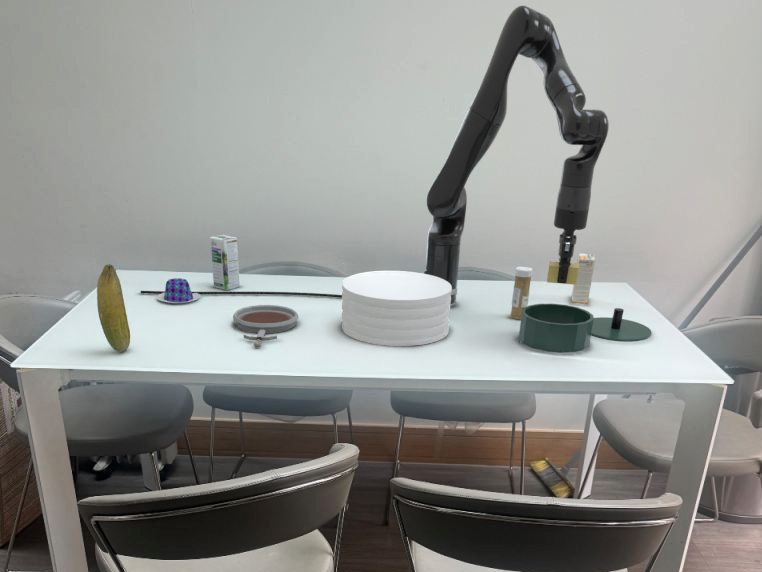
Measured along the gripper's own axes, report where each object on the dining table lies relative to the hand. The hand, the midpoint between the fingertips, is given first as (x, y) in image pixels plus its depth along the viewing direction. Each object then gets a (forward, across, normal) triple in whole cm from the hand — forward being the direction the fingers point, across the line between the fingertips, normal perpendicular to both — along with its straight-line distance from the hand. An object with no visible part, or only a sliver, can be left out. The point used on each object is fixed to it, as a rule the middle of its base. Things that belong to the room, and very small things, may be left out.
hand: (561, 279), depth 187 cm
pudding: (+16, -6, -105) cm, 106 cm away
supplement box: (+16, -41, +7) cm, 45 cm away
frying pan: (+16, +13, -73) cm, 76 cm away
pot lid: (+15, -14, +16) cm, 26 cm away
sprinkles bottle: (+16, -19, -10) cm, 27 cm away
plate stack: (+16, +1, -41) cm, 44 cm away
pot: (+16, 0, 0) cm, 16 cm away
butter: (0, 0, 0) cm, 0 cm away
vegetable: (+16, +38, -100) cm, 108 cm away
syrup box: (+16, -22, -97) cm, 101 cm away
